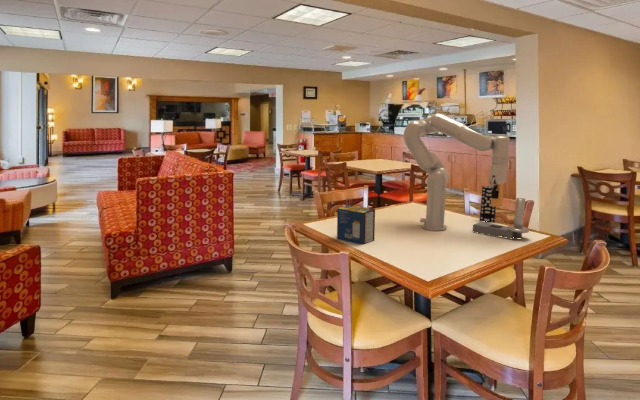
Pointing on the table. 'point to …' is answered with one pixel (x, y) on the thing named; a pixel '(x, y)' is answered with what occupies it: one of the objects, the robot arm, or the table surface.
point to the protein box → (355, 224)
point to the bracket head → (492, 229)
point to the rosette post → (518, 219)
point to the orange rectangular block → (500, 196)
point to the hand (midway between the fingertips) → (496, 197)
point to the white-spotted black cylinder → (487, 205)
